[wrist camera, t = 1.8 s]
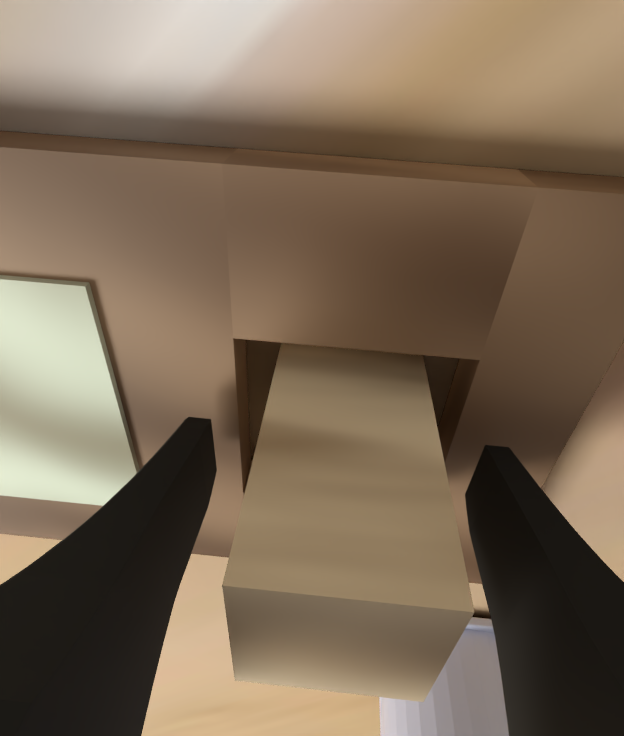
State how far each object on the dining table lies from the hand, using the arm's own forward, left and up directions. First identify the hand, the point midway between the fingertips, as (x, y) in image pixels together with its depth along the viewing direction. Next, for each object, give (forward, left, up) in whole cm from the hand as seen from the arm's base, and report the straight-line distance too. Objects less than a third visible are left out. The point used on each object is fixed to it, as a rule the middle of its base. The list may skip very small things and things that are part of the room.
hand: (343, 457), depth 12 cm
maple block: (0, 0, -2) cm, 2 cm away
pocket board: (0, +5, -2) cm, 5 cm away
